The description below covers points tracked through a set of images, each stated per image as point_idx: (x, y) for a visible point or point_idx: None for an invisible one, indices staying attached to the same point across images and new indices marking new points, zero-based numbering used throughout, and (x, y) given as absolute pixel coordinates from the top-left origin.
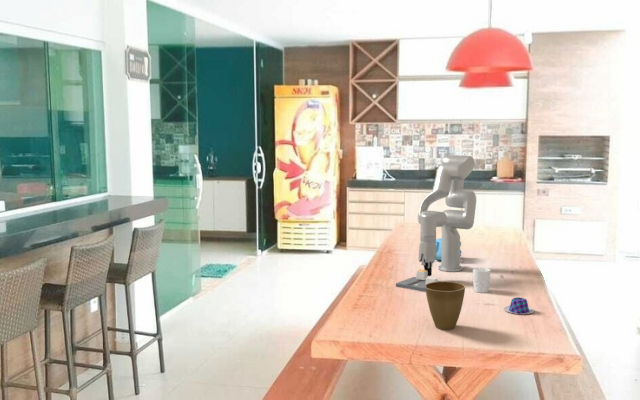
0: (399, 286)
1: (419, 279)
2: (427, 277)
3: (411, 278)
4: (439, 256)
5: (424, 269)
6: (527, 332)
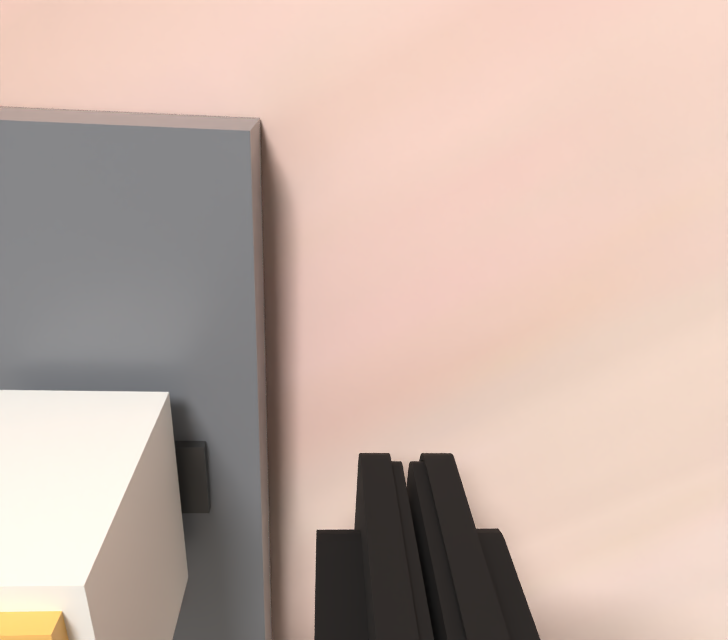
0: None
1: None
2: (174, 610)
3: (21, 181)
4: None
5: (372, 594)
6: None
